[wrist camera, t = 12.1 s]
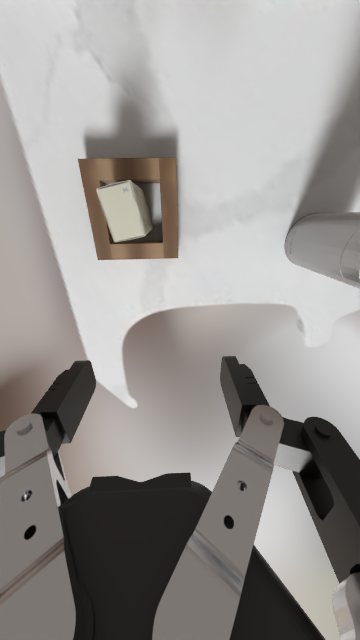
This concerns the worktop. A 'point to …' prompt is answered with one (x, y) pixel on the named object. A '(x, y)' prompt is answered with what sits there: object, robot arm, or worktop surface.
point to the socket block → (138, 172)
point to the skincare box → (125, 210)
